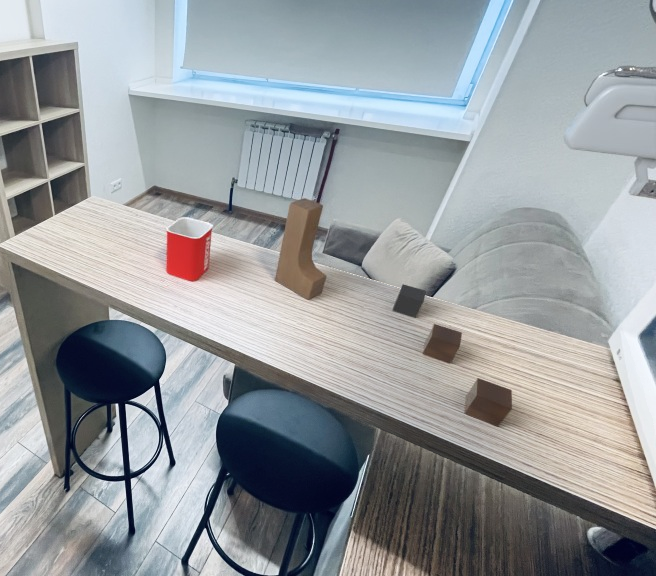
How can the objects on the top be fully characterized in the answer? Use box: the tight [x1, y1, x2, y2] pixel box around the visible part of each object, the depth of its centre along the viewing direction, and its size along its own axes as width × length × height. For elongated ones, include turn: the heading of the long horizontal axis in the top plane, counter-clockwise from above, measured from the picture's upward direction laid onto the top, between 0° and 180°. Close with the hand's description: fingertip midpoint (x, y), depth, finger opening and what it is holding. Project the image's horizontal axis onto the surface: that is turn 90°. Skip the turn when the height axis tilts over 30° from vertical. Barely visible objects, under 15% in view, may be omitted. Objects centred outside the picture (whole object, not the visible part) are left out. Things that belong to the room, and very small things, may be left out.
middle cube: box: [422, 323, 463, 365], centre depth 68 cm, size 4×4×4 cm
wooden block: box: [274, 197, 328, 301], centre depth 81 cm, size 9×4×18 cm, turn 34°
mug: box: [165, 216, 214, 282], centre depth 90 cm, size 12×8×11 cm
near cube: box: [464, 377, 513, 428], centre depth 58 cm, size 4×4×4 cm
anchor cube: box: [392, 284, 427, 319], centre depth 78 cm, size 4×4×4 cm
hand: (645, 196), depth 50 cm, fingers closed
